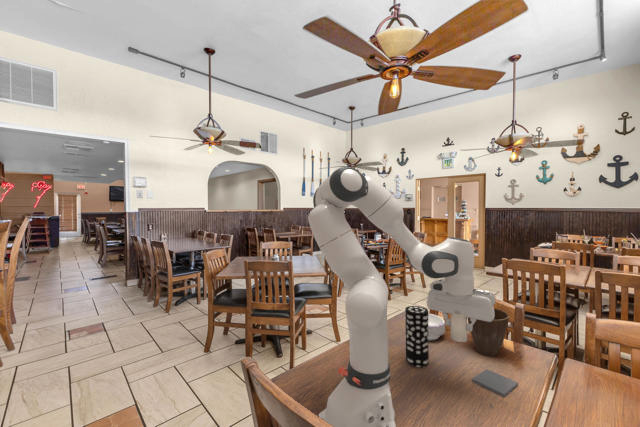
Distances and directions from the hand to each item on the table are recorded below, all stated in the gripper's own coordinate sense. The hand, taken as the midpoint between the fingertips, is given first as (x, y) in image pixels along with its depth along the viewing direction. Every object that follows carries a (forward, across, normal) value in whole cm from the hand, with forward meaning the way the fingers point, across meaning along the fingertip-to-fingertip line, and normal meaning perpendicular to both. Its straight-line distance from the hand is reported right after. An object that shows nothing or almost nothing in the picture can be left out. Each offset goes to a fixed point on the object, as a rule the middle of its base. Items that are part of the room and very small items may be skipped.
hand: (458, 327), depth 97 cm
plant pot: (+19, -3, -30) cm, 36 cm away
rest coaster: (+19, -9, -7) cm, 22 cm away
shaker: (+4, 0, 0) cm, 4 cm away
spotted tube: (+19, +16, -5) cm, 26 cm away
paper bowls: (+19, +21, -30) cm, 41 cm away
